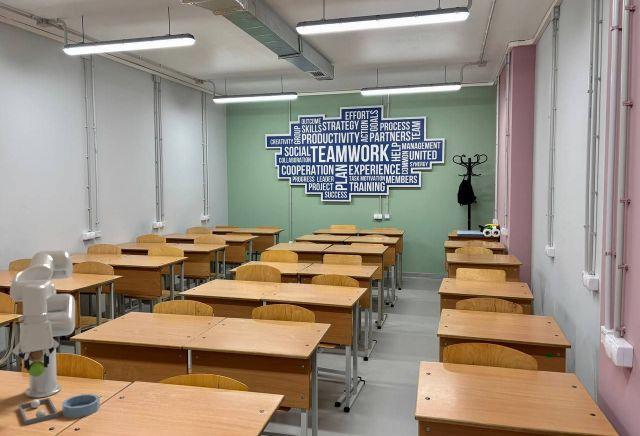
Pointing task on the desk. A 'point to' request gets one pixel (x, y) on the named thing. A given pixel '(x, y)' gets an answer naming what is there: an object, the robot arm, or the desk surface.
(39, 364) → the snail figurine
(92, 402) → the bowl
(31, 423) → the tray
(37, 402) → the pebble
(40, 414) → the pebble
